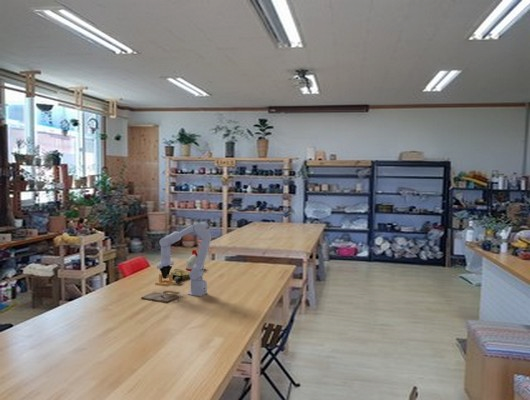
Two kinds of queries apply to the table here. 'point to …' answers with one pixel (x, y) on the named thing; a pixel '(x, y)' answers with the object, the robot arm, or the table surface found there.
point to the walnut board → (158, 298)
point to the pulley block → (179, 275)
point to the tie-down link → (165, 281)
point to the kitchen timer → (191, 261)
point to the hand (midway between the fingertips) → (165, 278)
